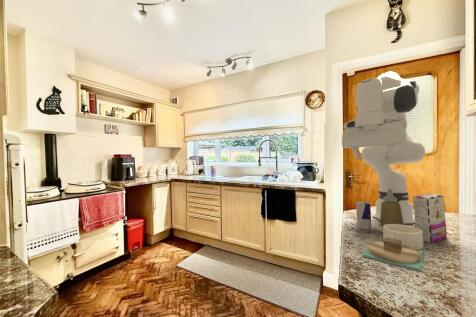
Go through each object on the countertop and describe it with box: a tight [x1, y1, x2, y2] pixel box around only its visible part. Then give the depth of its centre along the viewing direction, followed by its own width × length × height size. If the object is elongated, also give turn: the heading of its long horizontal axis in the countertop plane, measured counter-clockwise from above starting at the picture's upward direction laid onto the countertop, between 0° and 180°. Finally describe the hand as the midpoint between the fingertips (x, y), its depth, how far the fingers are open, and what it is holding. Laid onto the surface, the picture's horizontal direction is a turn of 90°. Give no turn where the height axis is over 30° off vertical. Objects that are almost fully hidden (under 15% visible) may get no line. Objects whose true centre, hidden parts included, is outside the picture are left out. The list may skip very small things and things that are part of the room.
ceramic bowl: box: [382, 224, 425, 251], centre depth 73 cm, size 11×11×6 cm
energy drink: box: [355, 201, 373, 233], centre depth 89 cm, size 5×5×12 cm
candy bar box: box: [412, 193, 448, 244], centre depth 77 cm, size 11×5×16 cm, turn 114°
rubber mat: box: [362, 241, 424, 272], centre depth 65 cm, size 14×14×1 cm
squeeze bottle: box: [379, 189, 405, 229], centre depth 86 cm, size 8×8×18 cm
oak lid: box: [368, 237, 420, 263], centre depth 65 cm, size 13×13×4 cm
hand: (372, 158), depth 76 cm, fingers open, 8 cm apart
